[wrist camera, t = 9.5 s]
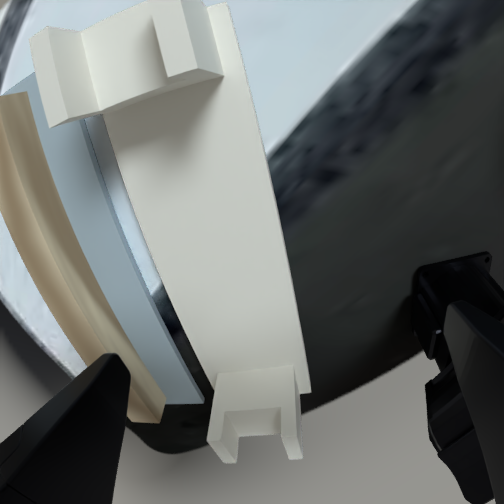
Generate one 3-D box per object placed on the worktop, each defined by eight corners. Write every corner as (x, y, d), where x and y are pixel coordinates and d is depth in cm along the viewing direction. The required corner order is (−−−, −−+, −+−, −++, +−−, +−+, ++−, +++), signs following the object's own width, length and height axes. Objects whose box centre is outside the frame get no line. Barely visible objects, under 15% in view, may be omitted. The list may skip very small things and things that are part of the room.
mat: (67, 54, 14) (62, 54, 14) (204, 398, 28) (203, 403, 27) (-23, 117, 16) (-28, 119, 15) (118, 398, 29) (116, 402, 29)
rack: (228, 7, 13) (201, -44, 7) (310, 381, 26) (316, 456, 19) (96, 54, 14) (12, 51, 8) (221, 391, 27) (211, 463, 21)
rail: (27, 91, 15) (-4, 96, 12) (166, 397, 27) (159, 423, 25) (0, 110, 15) (-29, 118, 12) (140, 397, 28) (132, 421, 25)
